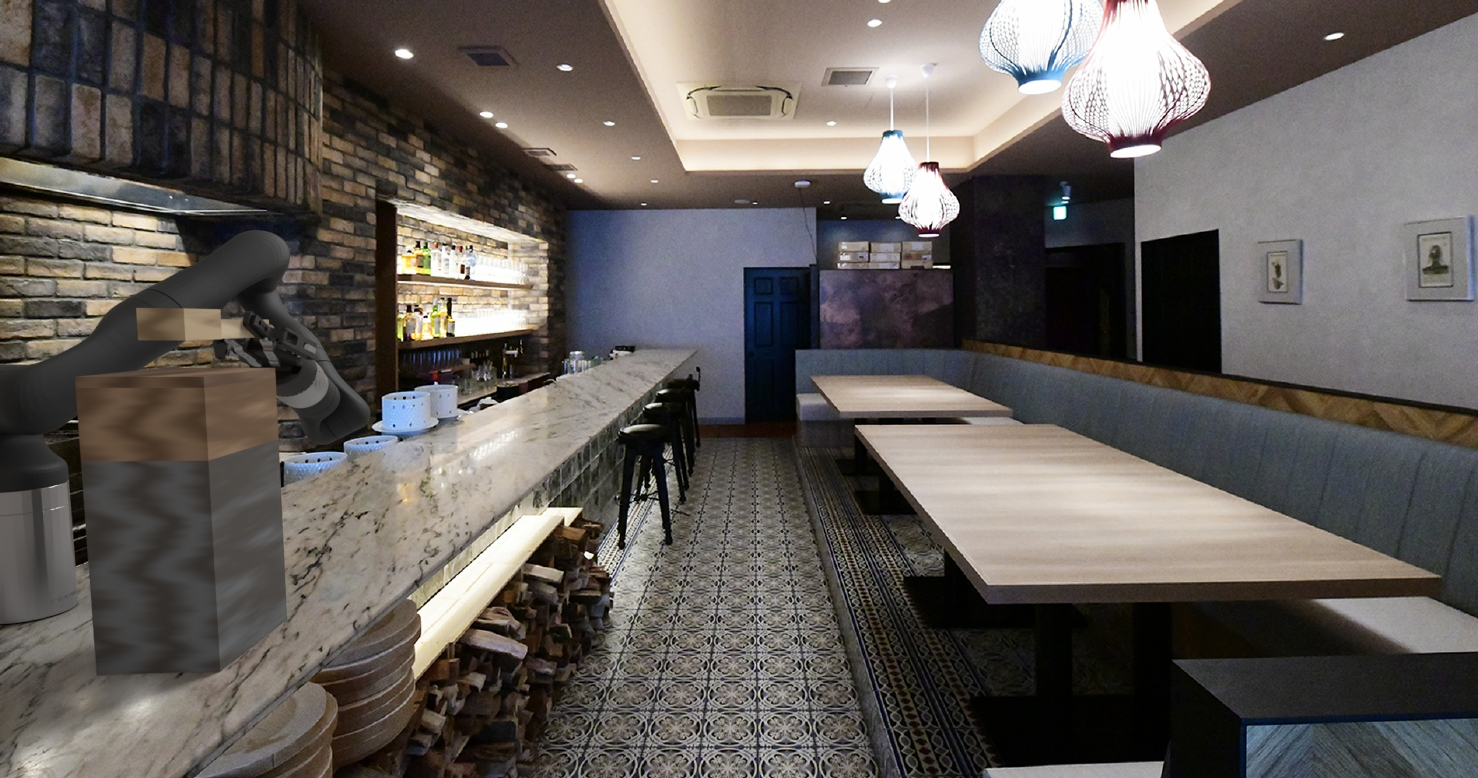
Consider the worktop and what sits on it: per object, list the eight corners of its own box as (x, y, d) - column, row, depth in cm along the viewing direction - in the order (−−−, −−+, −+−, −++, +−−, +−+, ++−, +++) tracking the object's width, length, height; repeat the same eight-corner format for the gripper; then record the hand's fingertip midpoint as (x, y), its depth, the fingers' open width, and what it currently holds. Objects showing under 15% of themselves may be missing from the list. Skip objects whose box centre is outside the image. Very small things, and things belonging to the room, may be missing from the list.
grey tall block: (96, 675, 84) (74, 376, 81) (182, 621, 99) (167, 367, 96) (220, 671, 85) (203, 376, 82) (287, 618, 100) (275, 367, 97)
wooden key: (138, 340, 85) (136, 307, 85) (239, 336, 105) (237, 310, 105) (185, 340, 86) (183, 308, 85) (277, 337, 105) (275, 310, 105)
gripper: (248, 352, 115) (182, 291, 100) (344, 353, 117) (294, 293, 101) (236, 397, 112) (166, 342, 97) (335, 397, 114) (282, 342, 98)
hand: (232, 317), depth 99 cm, fingers closed on wooden key, 3 cm apart
